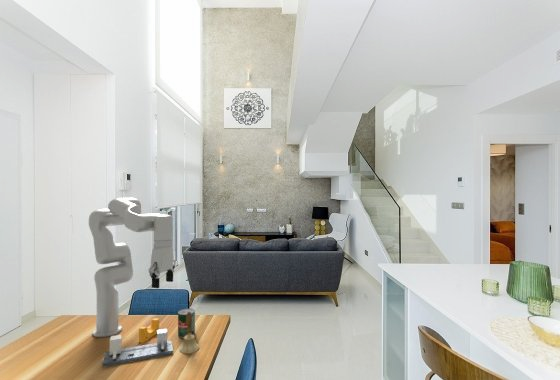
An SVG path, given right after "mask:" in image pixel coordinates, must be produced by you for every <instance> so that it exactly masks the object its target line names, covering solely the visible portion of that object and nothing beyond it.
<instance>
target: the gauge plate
mask: <svg viewBox="0 0 560 380" xmlns="http://www.w3.org/2000/svg"><path fill="white" fill-rule="evenodd" d="M156 337H157V338H156V342H154V343H148V344H143V345H137V346H132V347H130V346H129V347H125V348H122V349H121V353H120V354H116V358H115V359H113V355H110V350H107V351H105V353H104V356H103V360H102V362H101V363H102V368H106V367H110V366H116V365H121V364H127V363H132V362H137V361H143V360H144V361H145V360H149V359H152V358H153V359H154V358H159V357H163V356H170V355H174V354H173V353H174V350H173V342H172V340H168V328H161V329H159V330H157V334H156Z"/></svg>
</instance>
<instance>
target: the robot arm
mask: <svg viewBox="0 0 560 380" xmlns="http://www.w3.org/2000/svg"><path fill="white" fill-rule="evenodd" d="M107 205H108V206H107V208H102V209H101V208H100V209H96V210H94V211H92V212H91V213H90V214H89V216H88V227H89V230H90V232H91V235H92V237H93V238H92V239H93V246H94V255H95V256H94V257H95V261H96V263H97V264H98V265H108V264H110V266H106V267H105V266H104V267H102V268H100V269H97V271H95V273H94V276H93V278H94V279H93V281H94V286H95V291H96V322H95V323H96V328H95V329H94V330H93V331H92V336H94V338H95V337H96V338H105V337H106V338H107V337H111V336H116V335H118V334H119V333H121V331H122V330H123V327H122V325H120V324H119V313H120V312H119V303H120V302H119V301H120V299H119V296H120V295H119V292H118V290H117V289H116V288H115V286H116V285H120V284H125V283H128V282H130V281H131V280H132V278H133V276H134V270H133V263H132V262H133V261H132V254H131V249H130V246H129V245H128V244H126V243H125V242H117V243H115V242H114V236H113V233H112V231H111V230H109V228H108V227H112V226H115V227H116V226H123V225H124V226H125V228H127V229H128V230H130V231H132V232H135V233H146V232H153V248H152V251H151V257H150V267H149V268H148V273H149V276H150V279H151V288H153V289H159V288H160V278H159V277H160V274H161V273H165V281H166V282H167V283H173V282H174V272H175V267H176V262H177V261H176V260H175V259H174V250H173V234H174V233H173V227H174V226H173V224H174V223H173V220H174V219H173V216H172V215H170V214H161V213H142V204H141V201H140V200H138V199H137V198H136V197H135V198H134V197H118V198H113V199H112V200H110V201H109V203H108V204H107ZM115 263H117V264H116V265H111V264H115Z"/></svg>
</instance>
